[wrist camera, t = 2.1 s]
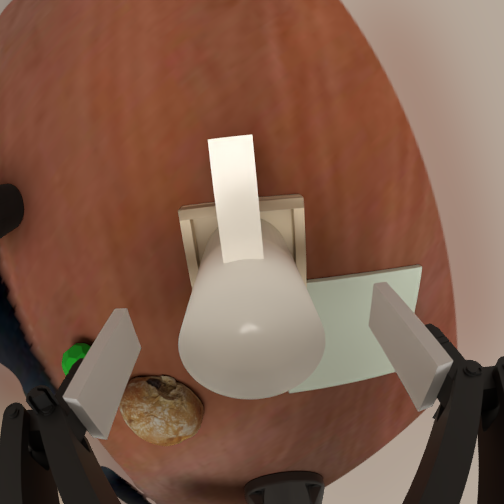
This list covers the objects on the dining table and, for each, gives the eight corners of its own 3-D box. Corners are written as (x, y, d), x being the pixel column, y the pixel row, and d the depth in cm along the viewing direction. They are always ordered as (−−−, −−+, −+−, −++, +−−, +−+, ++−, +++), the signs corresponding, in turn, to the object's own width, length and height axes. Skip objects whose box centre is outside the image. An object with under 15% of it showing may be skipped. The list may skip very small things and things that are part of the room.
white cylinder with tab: (289, 288, 25) (321, 390, 14) (211, 296, 25) (195, 402, 14) (279, 137, 21) (322, 127, 9) (189, 147, 21) (134, 148, 9)
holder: (303, 297, 26) (306, 306, 24) (200, 307, 26) (198, 317, 24) (298, 193, 23) (303, 197, 21) (182, 206, 23) (177, 210, 21)
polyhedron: (109, 373, 29) (96, 401, 25) (74, 359, 28) (58, 385, 24) (110, 343, 27) (94, 372, 23) (72, 328, 27) (53, 354, 22)
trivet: (398, 367, 30) (399, 370, 30) (288, 389, 30) (288, 393, 30) (419, 264, 26) (422, 266, 25) (283, 282, 25) (284, 285, 25)
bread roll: (204, 366, 33) (195, 390, 25) (208, 435, 32) (201, 468, 24) (129, 360, 33) (104, 380, 25) (137, 427, 32) (118, 456, 24)
